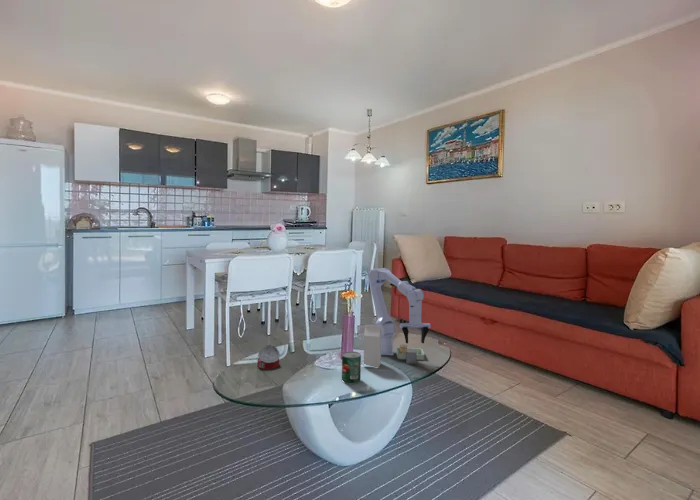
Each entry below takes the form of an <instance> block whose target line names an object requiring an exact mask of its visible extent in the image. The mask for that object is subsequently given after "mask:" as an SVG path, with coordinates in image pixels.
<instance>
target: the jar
mask: <svg viewBox="0 0 700 500" xmlns="http://www.w3.org/2000/svg"><path fill="white" fill-rule="evenodd" d="M408 346H409V345H407V344H400V345H399V348H400V354H406V349H407V348H409V347H408Z"/></svg>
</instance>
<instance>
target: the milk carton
mask: <svg viewBox="0 0 700 500" xmlns="http://www.w3.org/2000/svg"><path fill="white" fill-rule="evenodd" d="M364 327H365V328H364V334H363V365H364V364H366V365H370V366H374V367H379V366H380V367H381V364H382V363H381V362H382V355H381V326H376V325H372V324H370V325H368V324H365V325H364ZM380 367H379V368H380Z"/></svg>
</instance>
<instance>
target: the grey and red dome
mask: <svg viewBox="0 0 700 500" xmlns="http://www.w3.org/2000/svg"><path fill="white" fill-rule="evenodd" d="M257 357H258V358H257V368H258V369H261V370H270V369H276V368H278V367H279V366H280V357H281V353H280V351H279V350H278V347H276V346H275V345H271V344H269V345H265V346H263V347H261V349H259V351H258V354H257Z"/></svg>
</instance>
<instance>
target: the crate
mask: <svg viewBox="0 0 700 500" xmlns="http://www.w3.org/2000/svg"><path fill="white" fill-rule="evenodd" d="M407 349H416V351H417V356H416V361H417V360H419V361H425V359H426V357H425V352H424V350H423V349H422V347H417V348H415V347H407ZM395 350H396V351H395V353H396V357H397V360H406V354H400V347H396V348H395Z"/></svg>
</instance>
